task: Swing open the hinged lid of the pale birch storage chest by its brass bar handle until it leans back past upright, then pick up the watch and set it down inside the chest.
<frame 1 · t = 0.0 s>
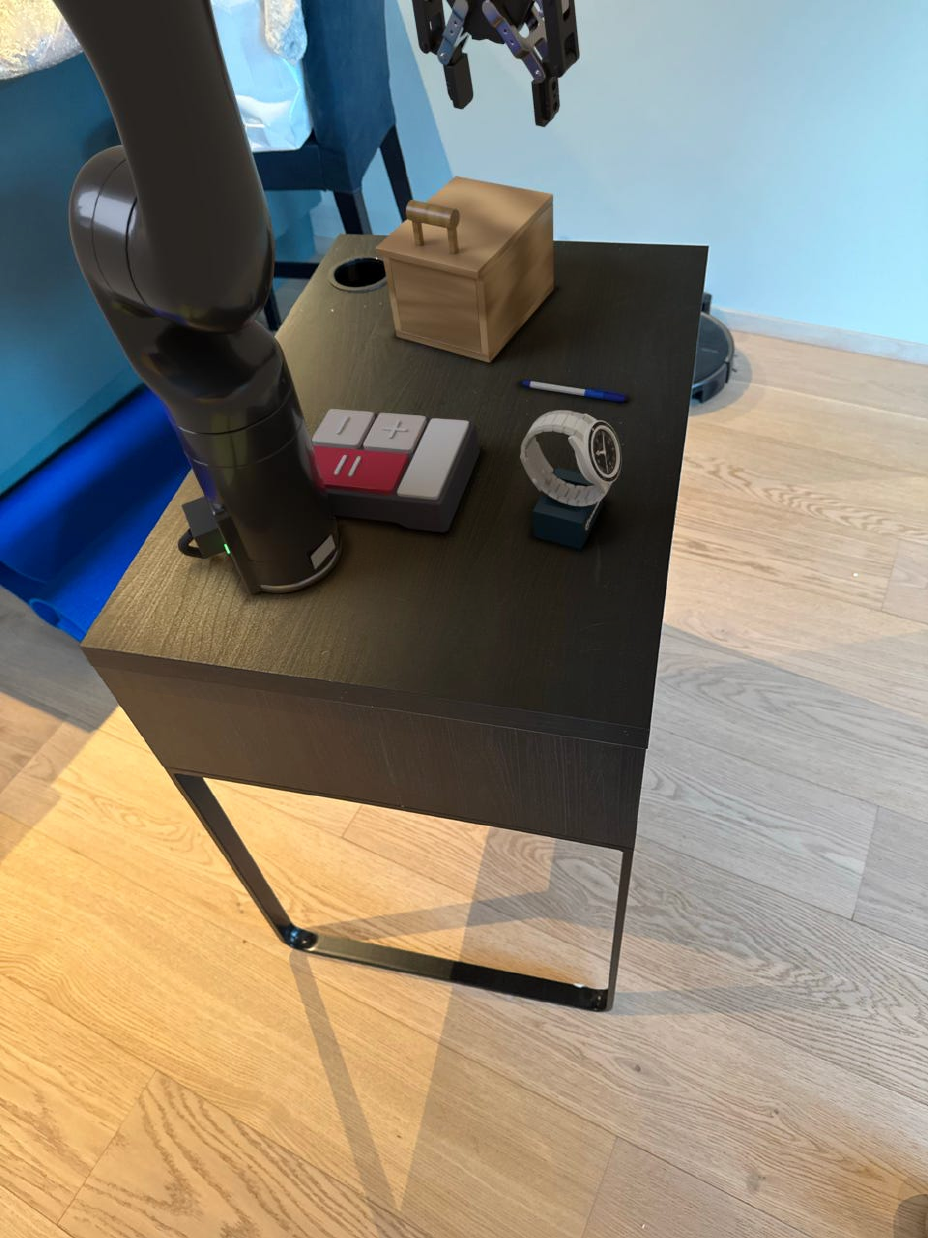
hand: (504, 112, 72), 22 cm above the table, tool pointing down, fingers open, 8 cm apart
chest: (476, 312, 94), on the table
calculator: (388, 482, 78), on the table
watch: (569, 522, 73), on the table
chest lid: (464, 203, 83), point 12 cm above the table, hinge at 0.0°
ballpoint pen: (573, 395, 84), on the table
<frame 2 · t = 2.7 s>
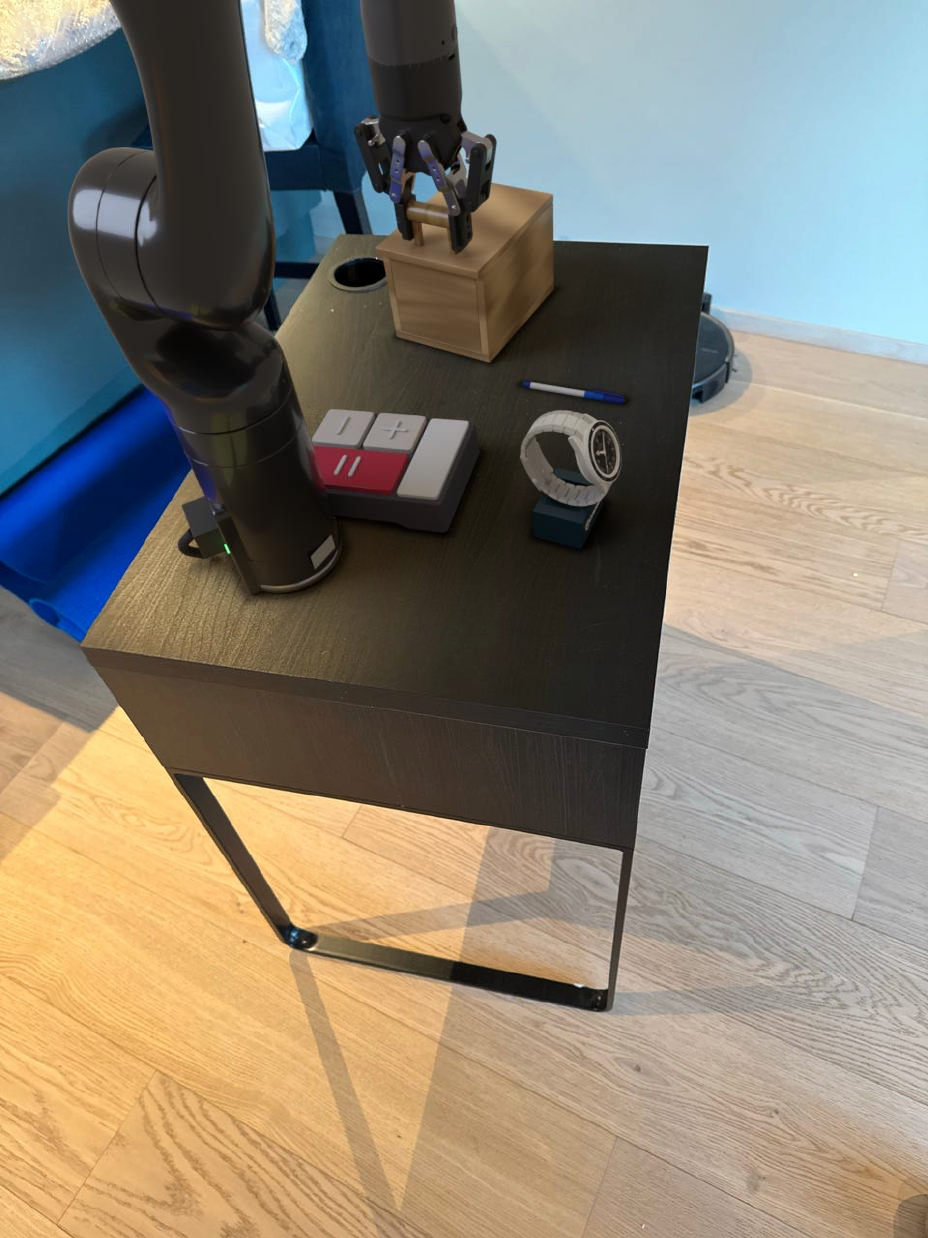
hand: (436, 241, 82), 11 cm above the table, tool pointing down, fingers closed on chest lid, 5 cm apart
chest lid: (464, 203, 83), point 12 cm above the table, hinge at 0.0°, touching gripper
everything else where it was.
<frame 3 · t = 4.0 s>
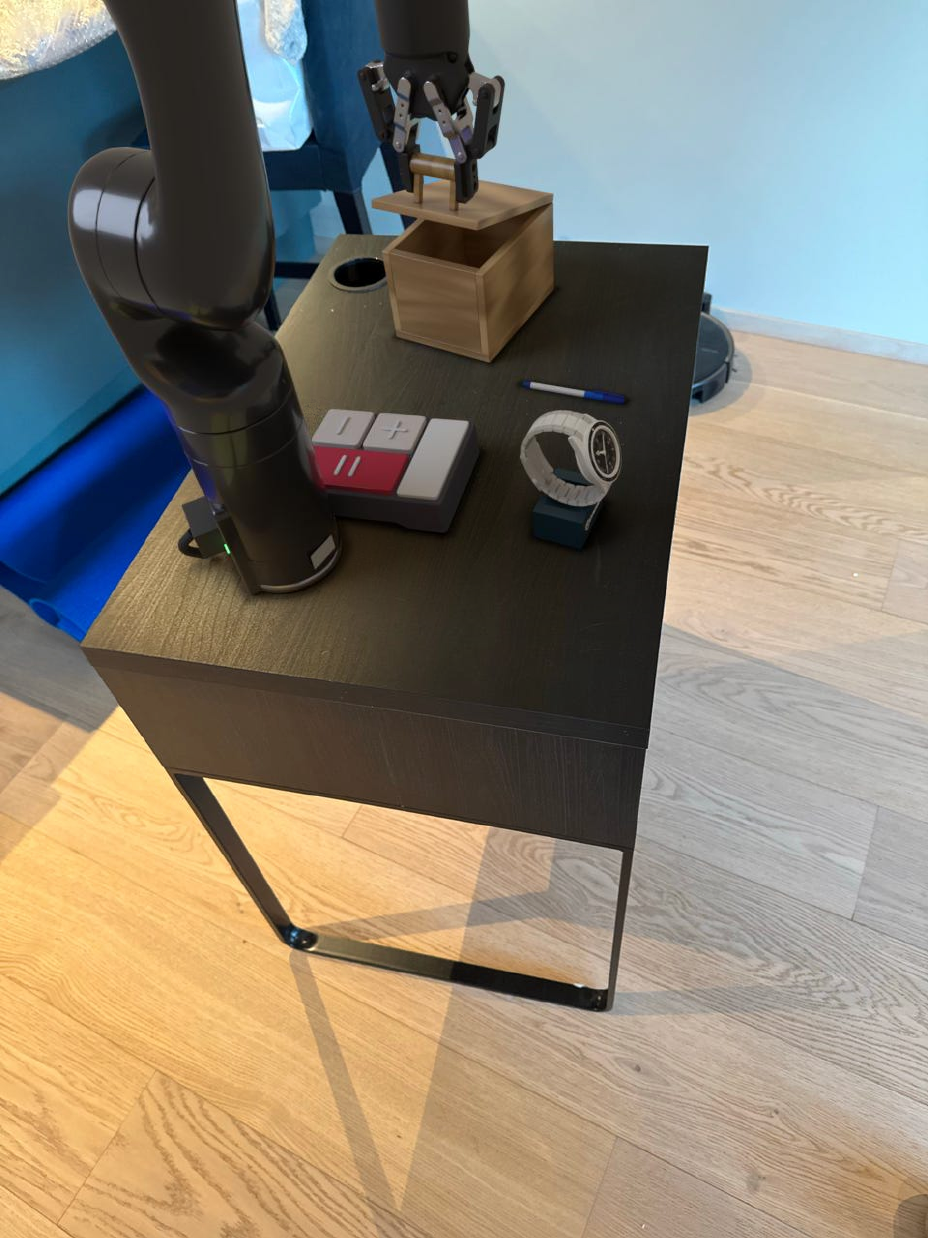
hand: (440, 193, 79), 15 cm above the table, tool pointing down, fingers closed on chest lid, 5 cm apart
chest lid: (467, 176, 82), point 15 cm above the table, hinge at 16.6°, touching gripper
everything else where it was.
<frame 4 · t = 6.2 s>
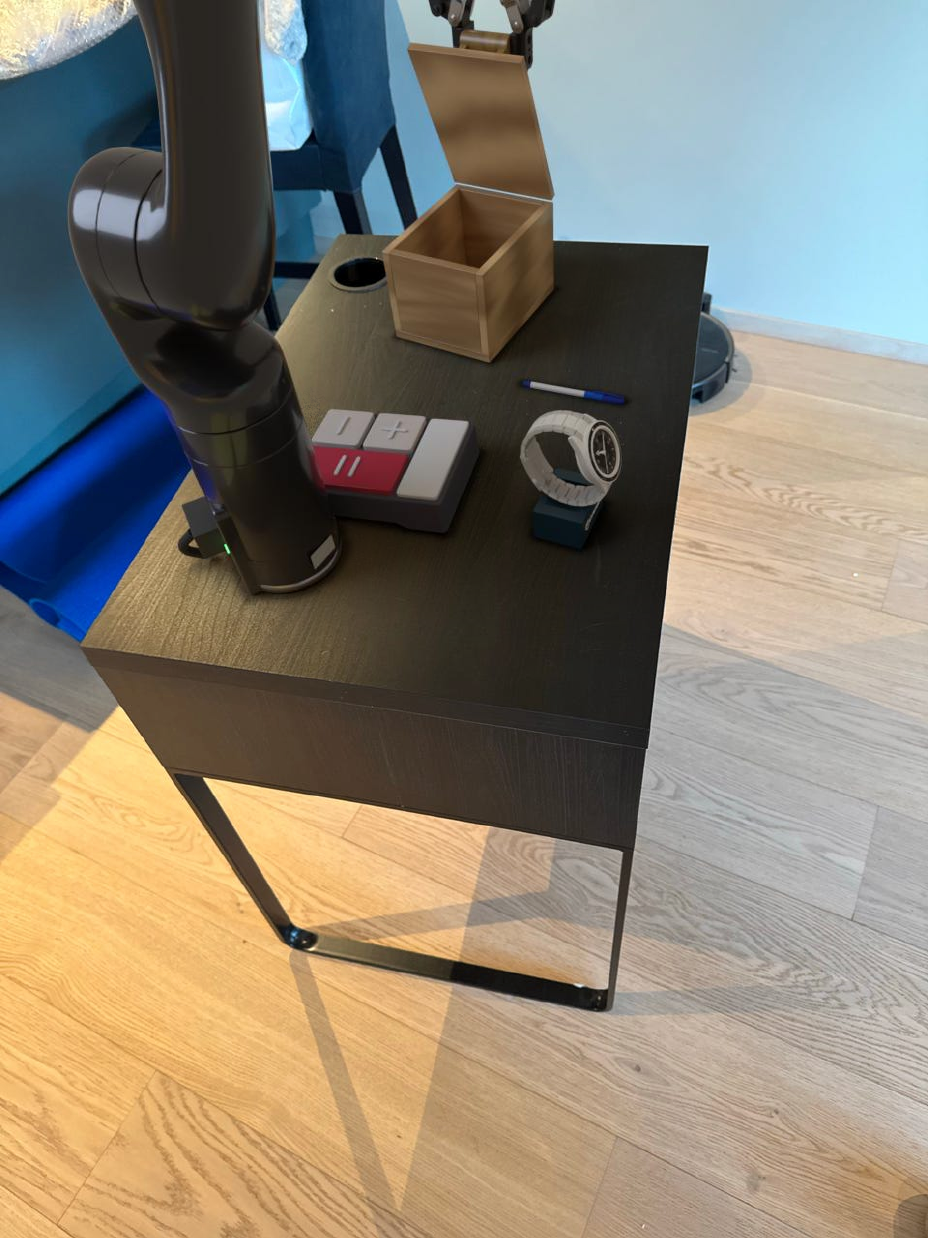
hand: (493, 71, 80), 22 cm above the table, tool pointing down, fingers closed on chest lid, 5 cm apart
chest lid: (494, 109, 82), point 18 cm above the table, hinge at 68.6°, touching gripper
everything else where it was.
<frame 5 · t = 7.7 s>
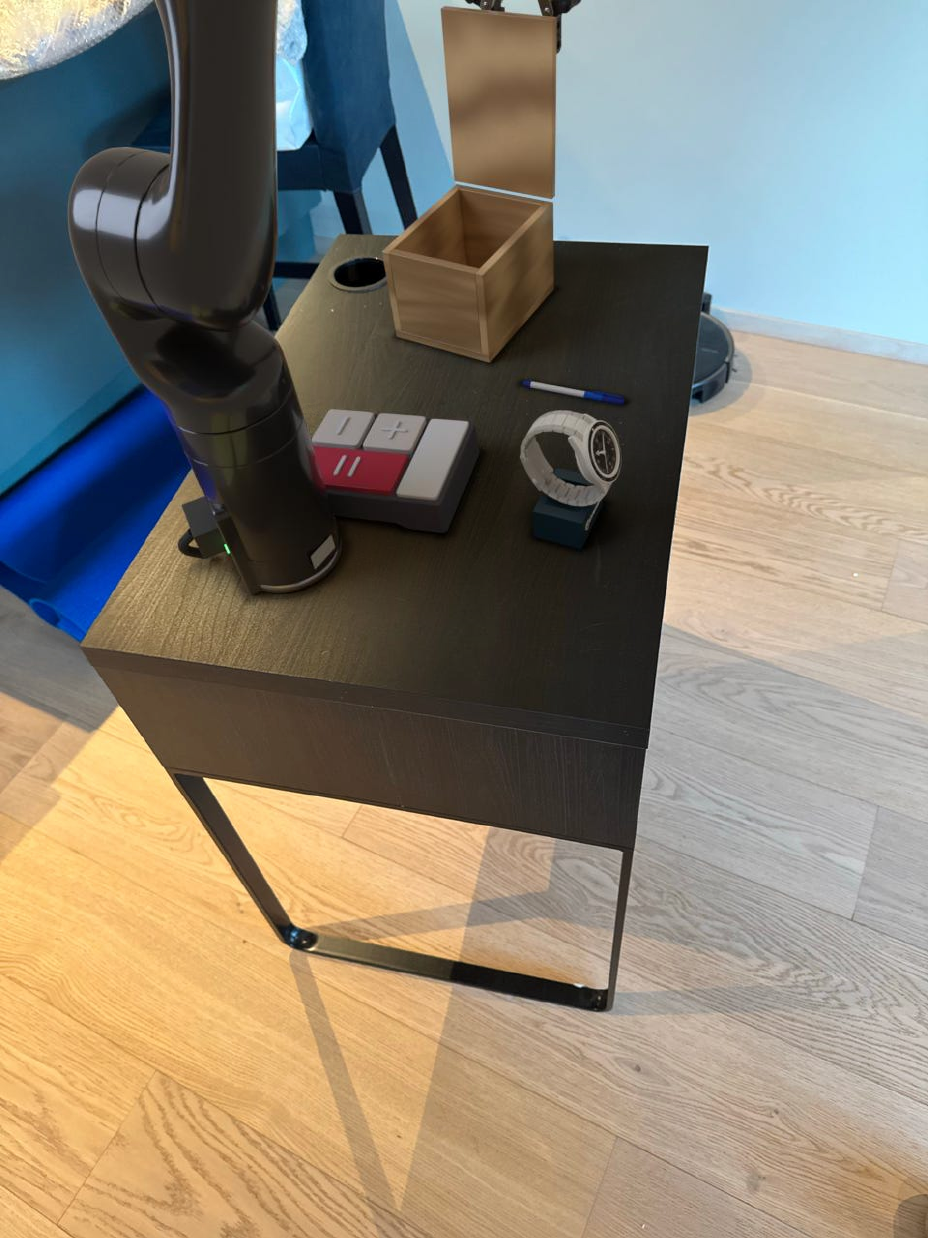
hand: (523, 56, 83), 21 cm above the table, tool pointing down, fingers closed on chest lid, 5 cm apart
chest lid: (510, 98, 84), point 18 cm above the table, hinge at 91.9°, touching gripper
everything else where it was.
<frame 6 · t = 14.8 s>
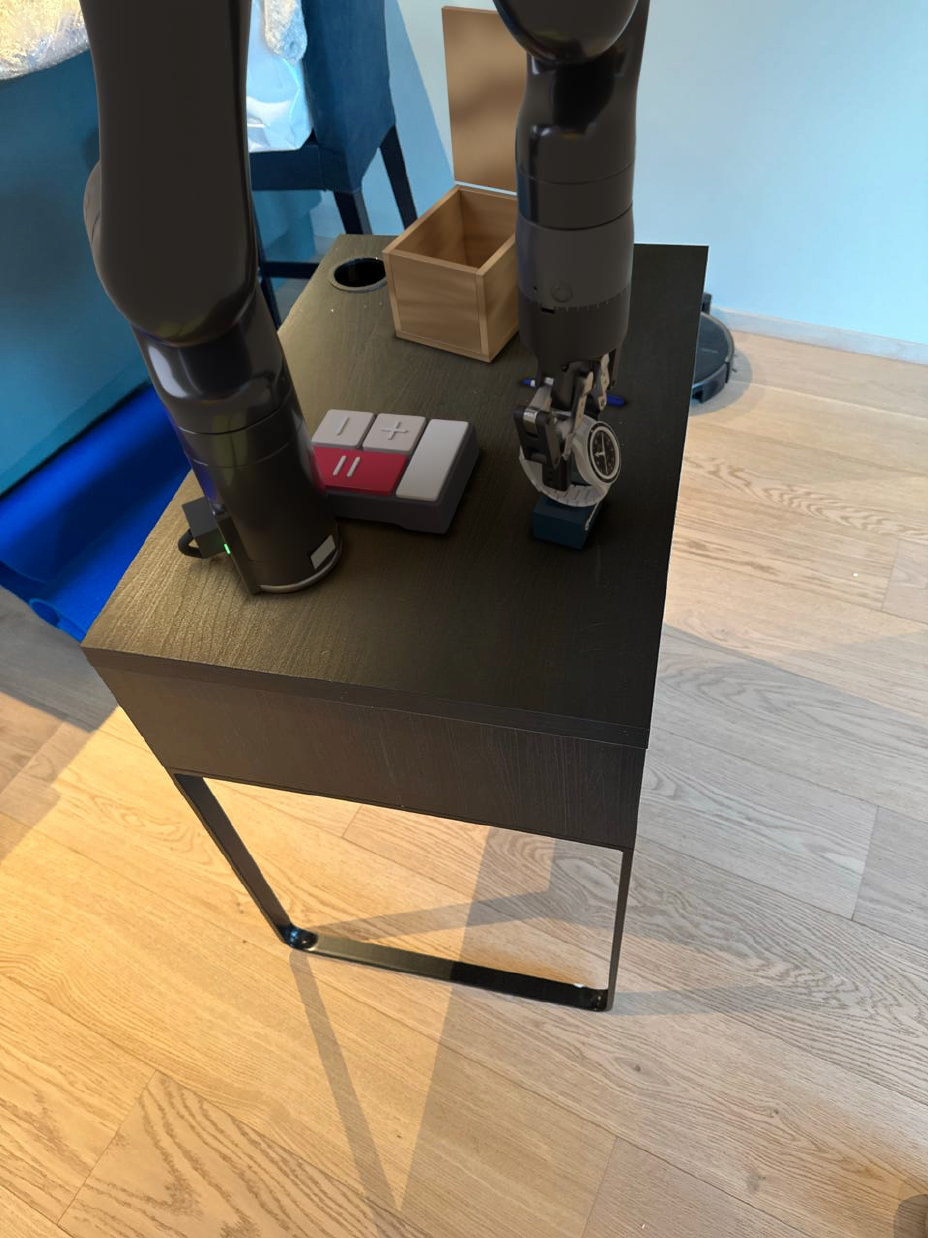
hand: (571, 464, 68), 6 cm above the table, tool pointing down, fingers closed on watch, 4 cm apart
watch: (569, 521, 73), on the table, touching gripper
chest lid: (511, 98, 84), point 18 cm above the table, hinge at 92.3°
everything else where it was.
when the fingers open (7 cm above the table, at t = 23.1 s): watch stays where it is, resting on chest.
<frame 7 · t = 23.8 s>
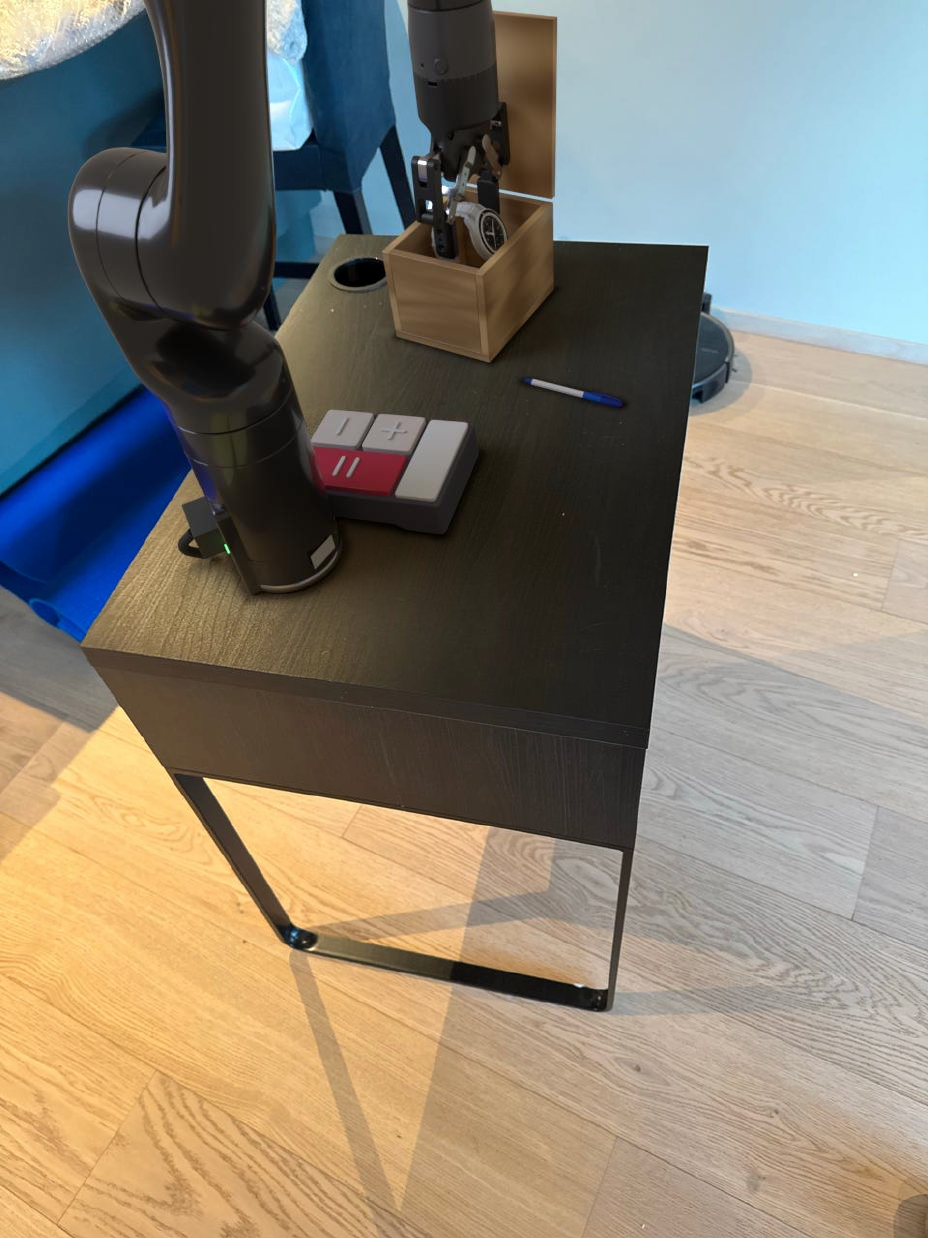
hand: (469, 235, 86), 9 cm above the table, tool pointing down, fingers open, 8 cm apart
watch: (475, 307, 93), point 1 cm above the table, touching chest
everything else where it was.
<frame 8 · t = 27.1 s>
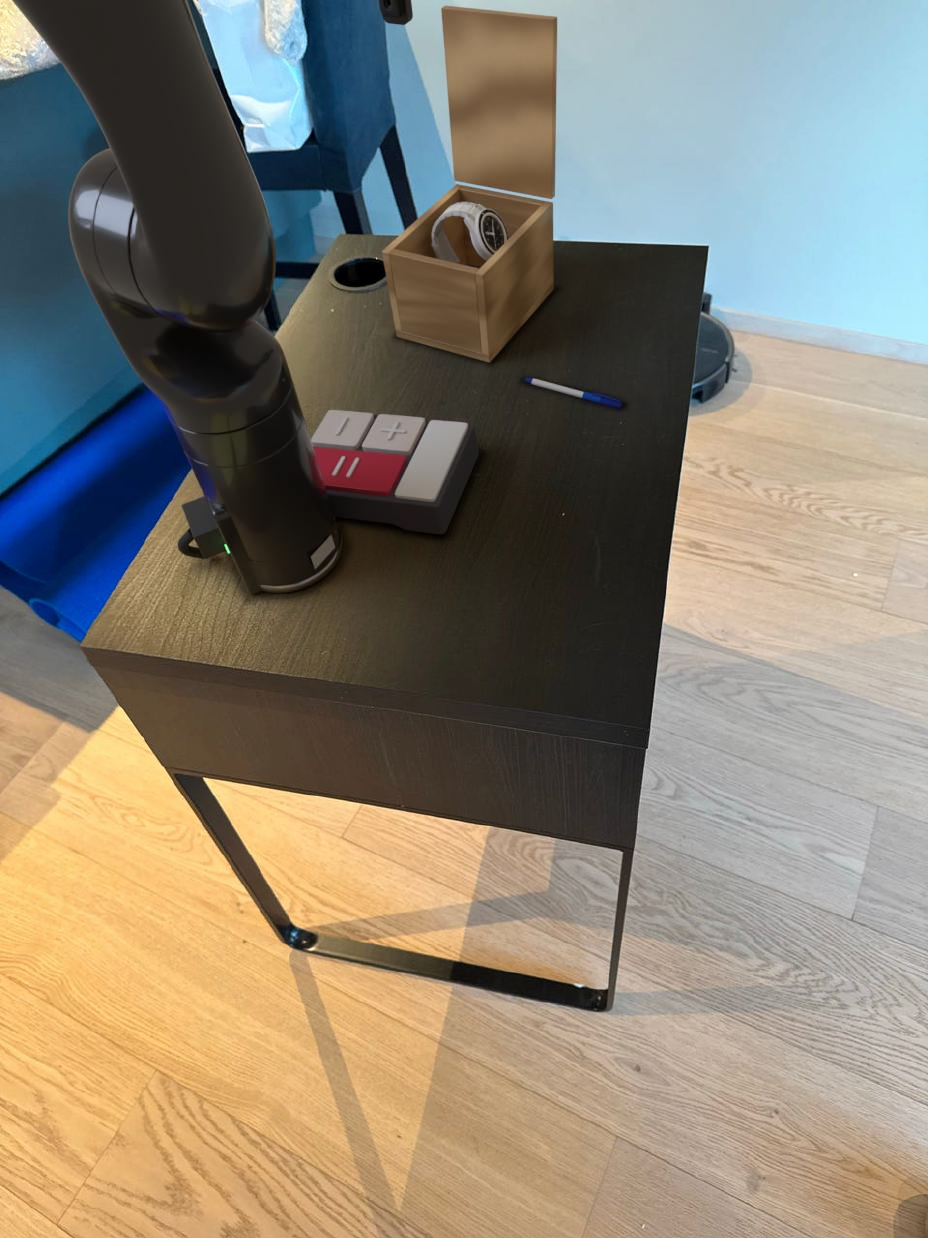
hand: (429, 1, 63), 32 cm above the table, tool pointing down, fingers open, 8 cm apart
nothing on the table moved.
at the end: chest lid at +92° (first picture: +0°); watch inside the target area in the chest (0.1 cm from its centre), point 0.7 cm above the chest's base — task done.
